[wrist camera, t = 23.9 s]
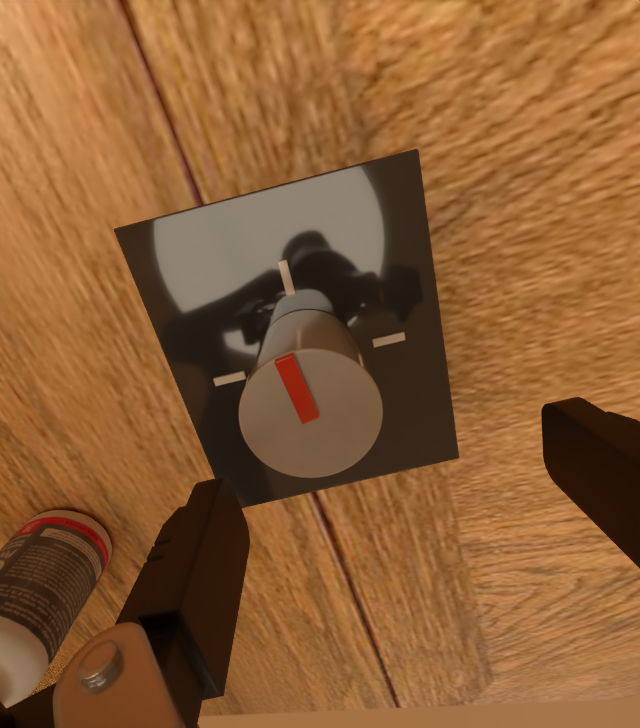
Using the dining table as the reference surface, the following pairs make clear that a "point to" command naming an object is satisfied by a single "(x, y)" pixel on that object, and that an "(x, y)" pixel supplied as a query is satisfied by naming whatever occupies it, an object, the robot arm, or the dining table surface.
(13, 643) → the pill bottle
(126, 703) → the robot arm
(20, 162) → the dining table surface
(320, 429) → the stove knob
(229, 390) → the black dial box
